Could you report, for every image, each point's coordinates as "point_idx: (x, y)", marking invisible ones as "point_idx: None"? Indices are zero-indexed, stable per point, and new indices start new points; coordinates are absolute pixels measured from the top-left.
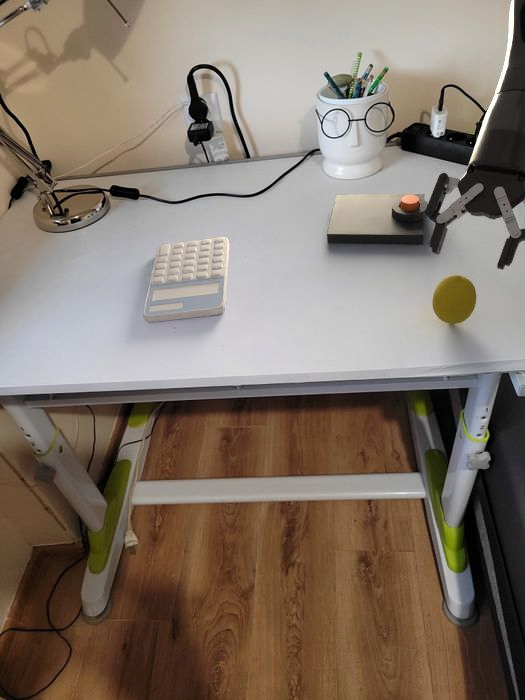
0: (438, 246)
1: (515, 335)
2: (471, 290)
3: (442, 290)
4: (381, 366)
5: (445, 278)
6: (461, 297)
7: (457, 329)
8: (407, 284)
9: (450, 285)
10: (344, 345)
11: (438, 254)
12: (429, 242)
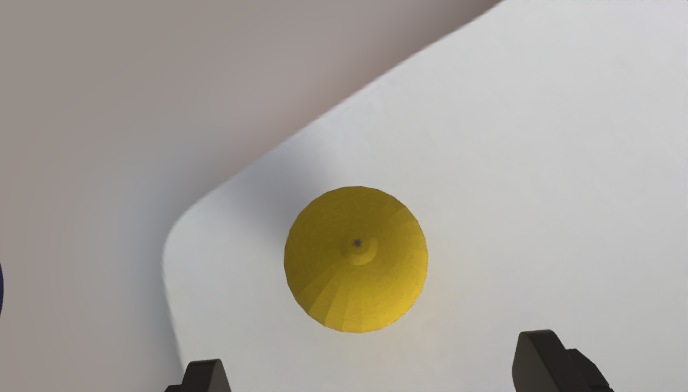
0: (535, 357)
1: (179, 304)
2: (296, 247)
3: (390, 201)
4: (424, 49)
5: (410, 256)
6: (316, 202)
7: None
8: None
9: (370, 210)
10: (536, 62)
11: (512, 368)
12: (595, 365)
